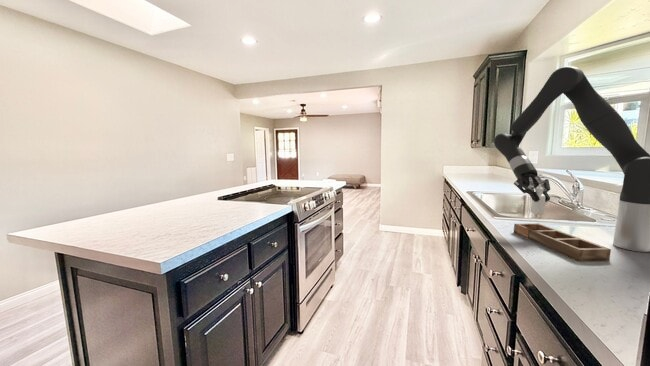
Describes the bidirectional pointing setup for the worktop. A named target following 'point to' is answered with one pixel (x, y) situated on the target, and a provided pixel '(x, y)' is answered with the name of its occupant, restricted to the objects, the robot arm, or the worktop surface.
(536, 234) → the walnut rack
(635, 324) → the worktop surface
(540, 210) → the eye dropper bottle
